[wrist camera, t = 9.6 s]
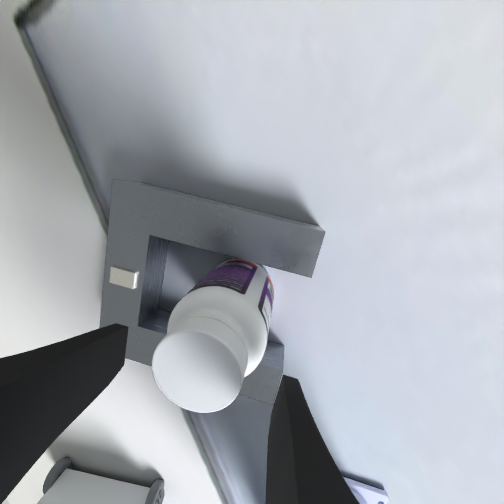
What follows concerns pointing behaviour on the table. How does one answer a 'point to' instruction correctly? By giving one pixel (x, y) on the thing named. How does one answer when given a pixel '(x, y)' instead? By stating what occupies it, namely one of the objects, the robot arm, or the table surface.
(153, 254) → the bracket
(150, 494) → the toy rover
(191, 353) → the pill bottle
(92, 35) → the table surface
